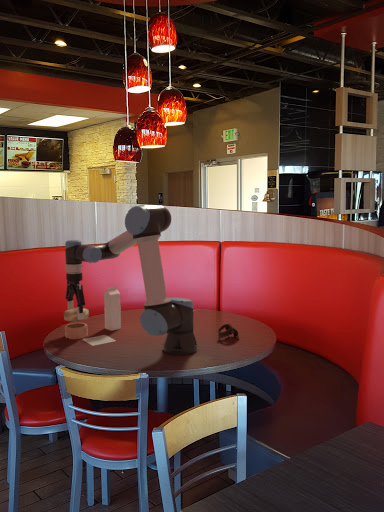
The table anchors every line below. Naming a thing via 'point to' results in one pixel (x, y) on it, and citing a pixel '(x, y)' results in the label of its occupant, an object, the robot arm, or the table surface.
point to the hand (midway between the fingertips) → (75, 316)
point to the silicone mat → (99, 340)
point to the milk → (112, 309)
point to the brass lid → (75, 314)
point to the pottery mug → (228, 331)
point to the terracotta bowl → (76, 330)
